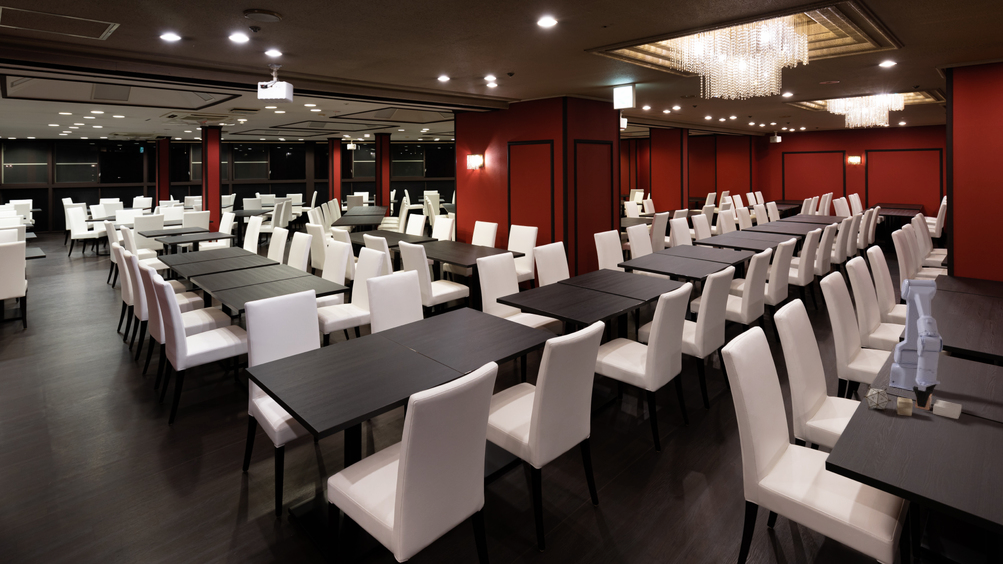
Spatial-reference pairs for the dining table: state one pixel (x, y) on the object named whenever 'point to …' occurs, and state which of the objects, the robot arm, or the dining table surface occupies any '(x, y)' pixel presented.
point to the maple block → (904, 406)
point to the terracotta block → (926, 404)
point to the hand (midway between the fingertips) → (923, 403)
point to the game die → (877, 398)
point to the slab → (947, 409)
